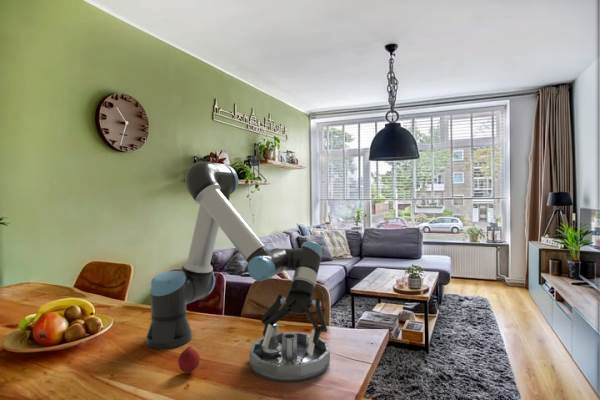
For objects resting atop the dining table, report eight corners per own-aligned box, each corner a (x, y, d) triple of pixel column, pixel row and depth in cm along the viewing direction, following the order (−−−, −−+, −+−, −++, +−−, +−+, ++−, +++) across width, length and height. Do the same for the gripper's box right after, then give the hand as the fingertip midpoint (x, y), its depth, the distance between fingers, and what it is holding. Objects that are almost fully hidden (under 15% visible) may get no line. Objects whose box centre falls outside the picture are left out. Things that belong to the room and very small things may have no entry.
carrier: (245, 383, 97) (244, 344, 97) (255, 345, 121) (254, 315, 121) (333, 381, 98) (333, 343, 97) (325, 344, 122) (325, 314, 121)
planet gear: (276, 374, 99) (275, 341, 99) (277, 361, 107) (277, 331, 106) (303, 373, 99) (302, 341, 99) (302, 360, 107) (302, 330, 107)
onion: (193, 379, 100) (192, 350, 100) (174, 377, 101) (174, 349, 101) (203, 369, 105) (202, 342, 105) (185, 367, 106) (184, 340, 106)
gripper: (343, 294, 113) (332, 362, 99) (270, 288, 121) (251, 350, 107) (339, 281, 108) (327, 351, 94) (264, 275, 116) (242, 339, 102)
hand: (286, 351), depth 101 cm, fingers open, 13 cm apart
